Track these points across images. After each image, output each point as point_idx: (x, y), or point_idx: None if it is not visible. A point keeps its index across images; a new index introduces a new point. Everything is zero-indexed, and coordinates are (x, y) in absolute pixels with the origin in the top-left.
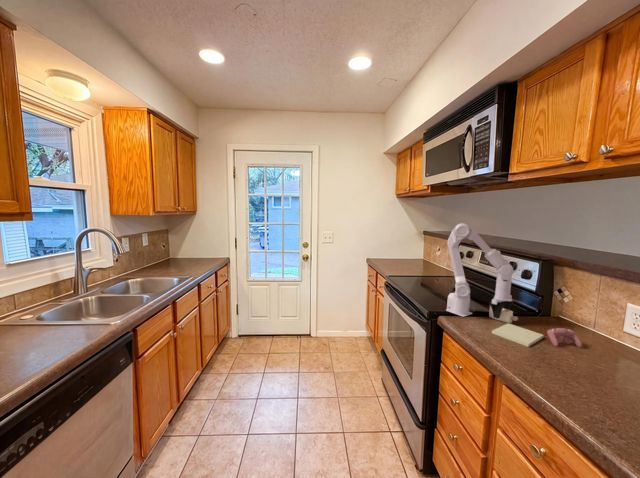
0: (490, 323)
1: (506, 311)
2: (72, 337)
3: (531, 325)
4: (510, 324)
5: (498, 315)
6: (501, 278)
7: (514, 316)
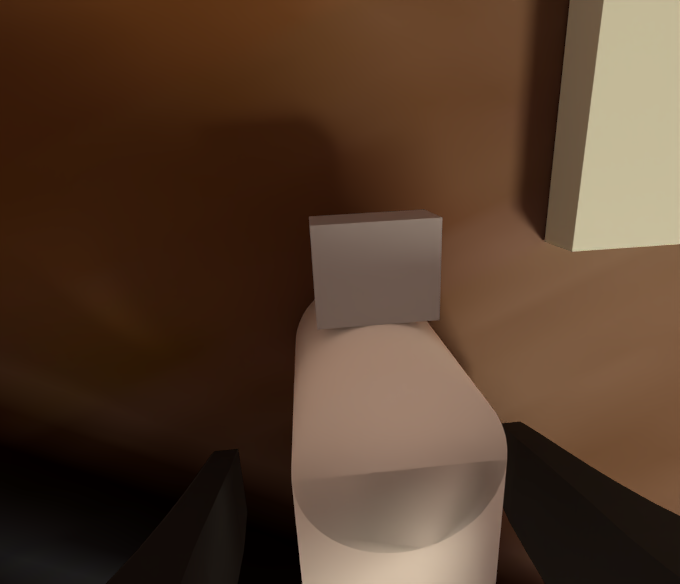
0: (649, 401)
1: (478, 468)
2: None
3: (126, 25)
4: (602, 200)
5: (566, 461)
6: None
7: (338, 297)
